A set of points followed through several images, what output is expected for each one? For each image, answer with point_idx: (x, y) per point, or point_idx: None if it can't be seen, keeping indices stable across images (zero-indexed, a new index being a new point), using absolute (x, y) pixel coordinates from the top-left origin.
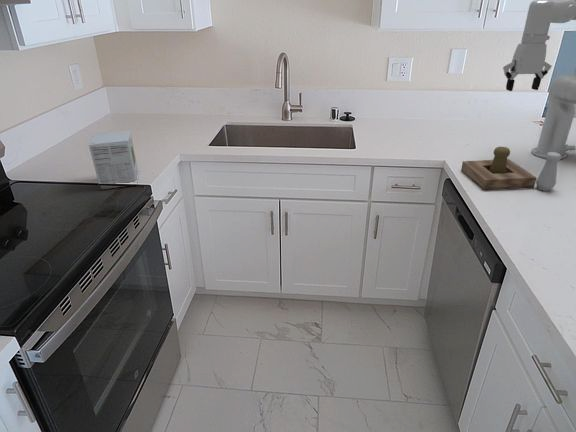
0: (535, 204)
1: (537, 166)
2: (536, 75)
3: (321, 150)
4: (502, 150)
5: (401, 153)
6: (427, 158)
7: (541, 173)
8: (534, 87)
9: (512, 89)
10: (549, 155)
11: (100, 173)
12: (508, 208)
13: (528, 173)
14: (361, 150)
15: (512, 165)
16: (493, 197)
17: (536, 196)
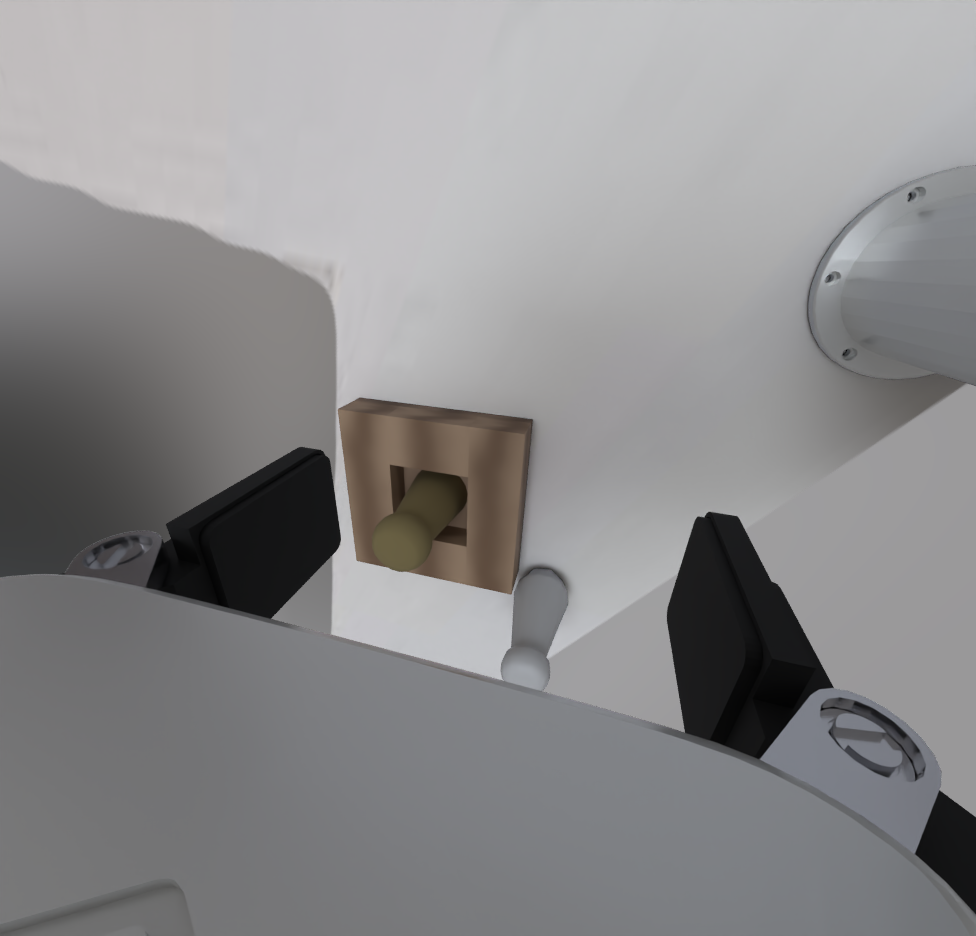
0: (461, 631)
1: (683, 426)
2: (786, 763)
3: None
4: (385, 565)
5: (168, 132)
6: (269, 229)
7: (514, 613)
8: (680, 595)
9: (329, 555)
10: (502, 676)
11: None
12: (392, 624)
13: (506, 564)
14: (5, 53)
15: (496, 495)
16: (383, 576)
17: (491, 605)
